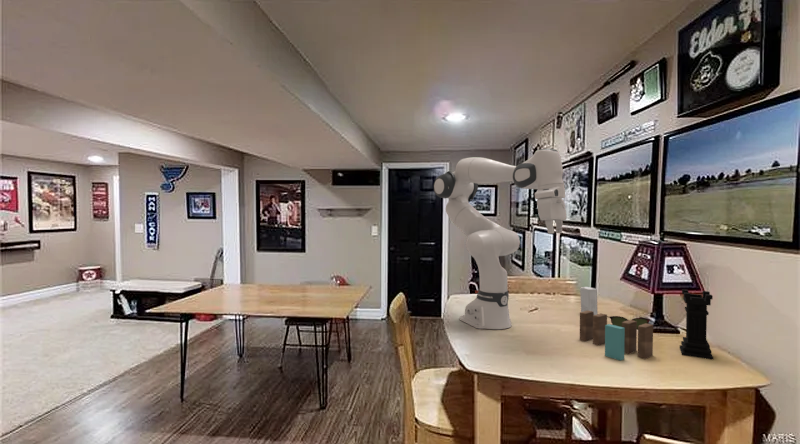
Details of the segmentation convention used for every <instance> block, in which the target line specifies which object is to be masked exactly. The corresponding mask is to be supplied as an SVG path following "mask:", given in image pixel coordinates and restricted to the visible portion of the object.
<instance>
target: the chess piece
mask: <svg viewBox="0 0 800 444" xmlns="http://www.w3.org/2000/svg"><path fill="white" fill-rule="evenodd" d="M681 295H683V301H684V304H686V306H684V309H685V312H686V315H685V316H686V318H685V320H686V321H685V322H686V323H685V326H686V327H685V328H686V329H685V336H682V340H681V341H680V345H679V350H680V353H681V356H686V357H692V358H699V359H705V358H706V359H707V360H712V359H713V360H714V356H713V354H712V350H711V348H710V347H711V345H710V343H709V342H708V339H707V327H708V326H707V322H708V316H709V315H710V314H709V313H710V312H709V311H708V306H709V307H710V306H711V304H712V303H711V301H712V300H713V295H712V294H710V291H708V290H703V291H702V294H695V293H691V292H689V290H688V289H681Z"/></svg>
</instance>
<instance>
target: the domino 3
mask: <svg viewBox="0 0 800 444" xmlns="http://www.w3.org/2000/svg"><path fill="white" fill-rule="evenodd" d="M624 339H625V328H623V327H619V326H615V325H612V323H611V324H610V323H607V325H605V344H604V356H605V357H608V358H610V359H614V360H616V361H623V360H625V353H624Z"/></svg>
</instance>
